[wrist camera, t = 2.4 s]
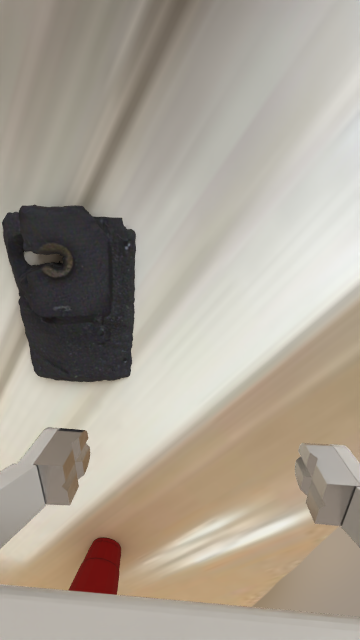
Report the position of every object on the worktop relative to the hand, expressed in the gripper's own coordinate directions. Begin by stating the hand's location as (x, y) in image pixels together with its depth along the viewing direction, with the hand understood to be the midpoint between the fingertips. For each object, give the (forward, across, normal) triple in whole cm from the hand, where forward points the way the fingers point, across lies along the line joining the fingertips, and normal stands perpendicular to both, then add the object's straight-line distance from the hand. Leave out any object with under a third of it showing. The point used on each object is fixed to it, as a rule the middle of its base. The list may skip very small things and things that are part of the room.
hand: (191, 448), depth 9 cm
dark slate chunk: (+22, +15, 0) cm, 27 cm away
